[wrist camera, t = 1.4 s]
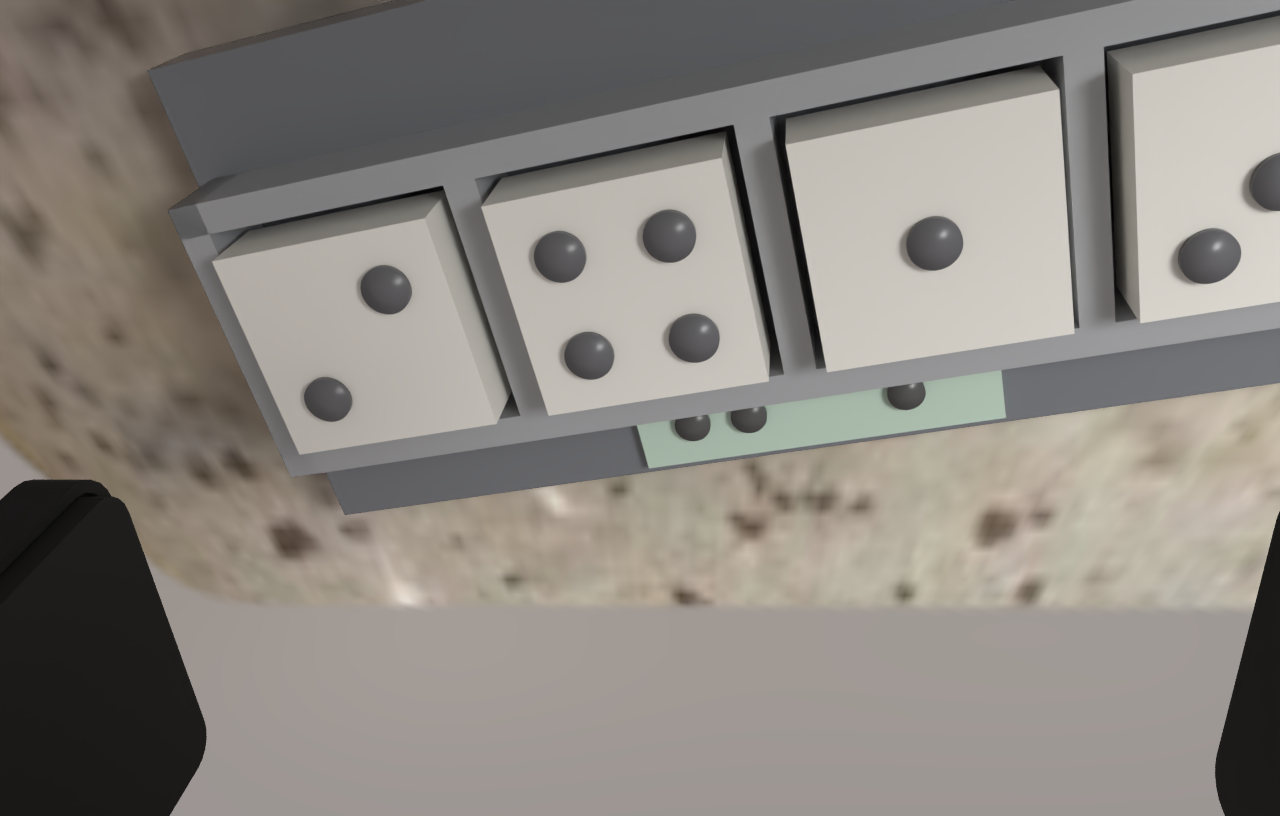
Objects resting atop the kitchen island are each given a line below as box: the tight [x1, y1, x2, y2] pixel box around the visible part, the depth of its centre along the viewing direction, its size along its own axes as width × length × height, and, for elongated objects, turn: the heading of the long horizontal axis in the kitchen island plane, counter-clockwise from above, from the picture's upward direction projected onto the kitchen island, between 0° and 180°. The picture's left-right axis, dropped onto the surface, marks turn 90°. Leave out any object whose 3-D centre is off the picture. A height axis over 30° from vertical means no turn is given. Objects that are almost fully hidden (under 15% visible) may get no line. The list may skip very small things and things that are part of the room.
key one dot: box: [785, 66, 1075, 372], centre depth 25 cm, size 6×6×2 cm
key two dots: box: [212, 190, 512, 455], centre depth 28 cm, size 6×6×2 cm
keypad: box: [148, 0, 1280, 515], centre depth 28 cm, size 30×14×4 cm, turn 104°
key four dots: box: [481, 131, 770, 416], centre depth 27 cm, size 6×6×2 cm
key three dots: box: [1107, 16, 1280, 323], centre depth 23 cm, size 6×6×2 cm
